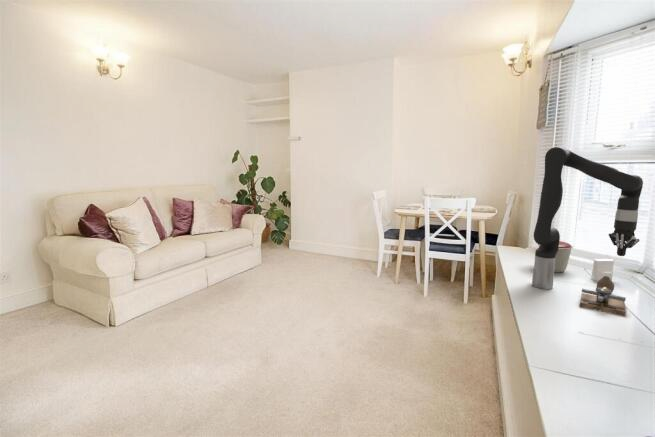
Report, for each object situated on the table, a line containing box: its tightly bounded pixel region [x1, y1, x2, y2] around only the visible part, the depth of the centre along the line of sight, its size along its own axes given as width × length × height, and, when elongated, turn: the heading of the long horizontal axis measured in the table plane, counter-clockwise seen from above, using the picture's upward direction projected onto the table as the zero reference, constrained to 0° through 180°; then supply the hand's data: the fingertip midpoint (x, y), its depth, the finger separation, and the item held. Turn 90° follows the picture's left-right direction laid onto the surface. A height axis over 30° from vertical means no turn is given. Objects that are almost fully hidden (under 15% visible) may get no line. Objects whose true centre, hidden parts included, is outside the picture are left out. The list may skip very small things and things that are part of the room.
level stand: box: [579, 292, 627, 317], centre depth 151 cm, size 16×14×3 cm
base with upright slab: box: [591, 258, 615, 283], centre depth 182 cm, size 9×9×12 cm
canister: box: [537, 240, 574, 273], centre depth 200 cm, size 18×18×21 cm
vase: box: [596, 276, 615, 294], centre depth 165 cm, size 7×7×9 cm
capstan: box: [581, 287, 627, 303], centre depth 151 cm, size 17×16×6 cm
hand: (620, 255), depth 149 cm, fingers closed
